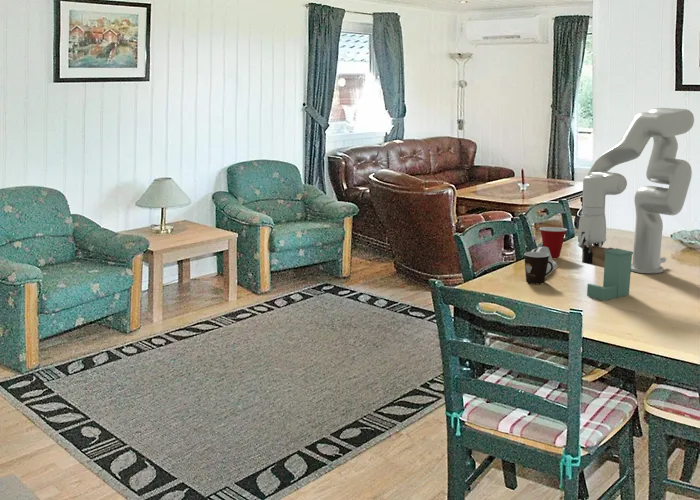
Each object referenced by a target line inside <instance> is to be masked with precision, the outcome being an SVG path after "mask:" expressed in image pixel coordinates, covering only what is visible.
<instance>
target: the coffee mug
mask: <svg viewBox="0 0 700 500" xmlns="http://www.w3.org/2000/svg"><path fill="white" fill-rule="evenodd" d="M523 256H524V257H523V258H524V270H525V271H524V272H525V281H526V283H527V282H528V284H530V283H532V285H541V284H542V283H543V284H545V283H546V275H548V274H549V273H550V272H551V271H552V270H553V265H552V263H551V262H550V261H548V259H549V254H547V253H543V252H531V251H528V252H527V251H526V252H525V253H524V254H523ZM548 263H549V264H550V265H551V270H550V271H549V272H548V273H546V271H547V265H548ZM551 273H552V272H551ZM551 273H550V274H551ZM550 274H549V275H550ZM549 275H548V276H549Z"/></svg>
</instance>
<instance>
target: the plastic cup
mask: <svg viewBox="0 0 700 500" xmlns="http://www.w3.org/2000/svg"><path fill="white" fill-rule="evenodd" d="M539 231H540V236H541V243H542V247H548V248H549V251H550V254H551V256H552V258H556V259H559V258H560V256H561V251H562V248H563V243H564V239H565V236H566V233H567V231H568V229H567V228H564V227H558V226H557V227H553V226H552V227H550V226H543V227H539ZM558 257H559V258H558Z"/></svg>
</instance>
